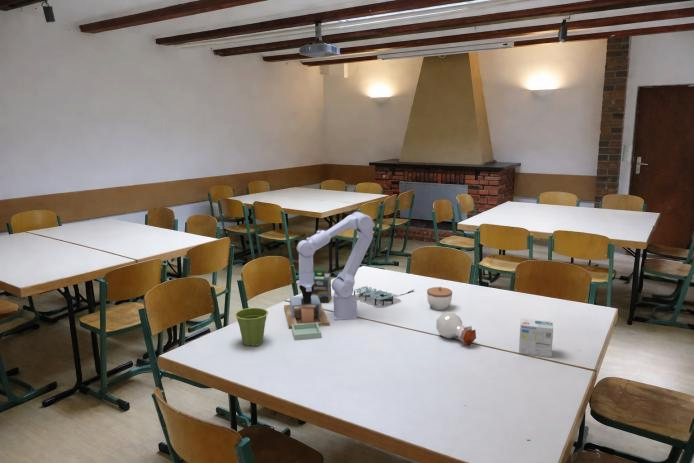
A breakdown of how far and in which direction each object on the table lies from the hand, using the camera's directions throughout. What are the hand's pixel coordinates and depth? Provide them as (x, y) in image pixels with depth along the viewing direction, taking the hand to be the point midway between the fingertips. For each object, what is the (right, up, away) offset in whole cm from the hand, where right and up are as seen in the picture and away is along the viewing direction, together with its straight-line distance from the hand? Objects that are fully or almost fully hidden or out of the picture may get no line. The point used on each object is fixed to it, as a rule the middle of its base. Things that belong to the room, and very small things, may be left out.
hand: (306, 303), depth 200 cm
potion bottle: (+56, -11, -16) cm, 59 cm away
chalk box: (+4, -3, +27) cm, 27 cm away
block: (0, -8, +1) cm, 8 cm away
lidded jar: (+56, -5, +16) cm, 59 cm away
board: (-1, -7, +6) cm, 9 cm away
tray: (+1, -10, -11) cm, 15 cm away
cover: (-1, -5, +7) cm, 9 cm away
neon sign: (+34, -2, +32) cm, 47 cm away
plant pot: (-18, -12, -18) cm, 28 cm away
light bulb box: (+82, -13, -27) cm, 87 cm away
